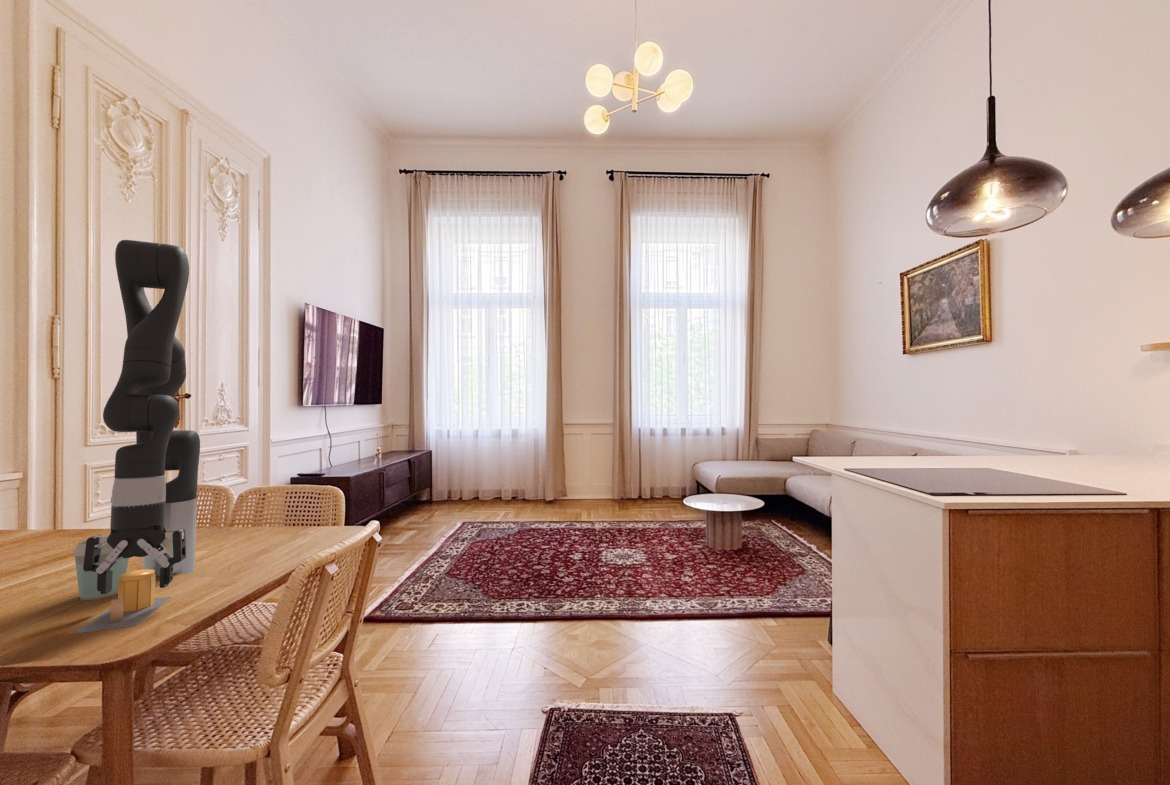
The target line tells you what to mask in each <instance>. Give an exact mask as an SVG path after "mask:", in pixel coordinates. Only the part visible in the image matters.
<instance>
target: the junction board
mask: <svg viewBox="0 0 1170 785" xmlns="http://www.w3.org/2000/svg"><path fill="white" fill-rule="evenodd" d="M170 599H171V596H167V597H157V598H156V597H155V603H154V604H152V605H151V606H149V607H146V608H143V609H139V610H135V611H126V612H124V611H123V608H124V599H118V598H115V599H113V600H111V601H110V608H109V609H107V610H106V611H104V612H103V613H102V614H100V615H99V616H97V617H95V618H94V619H93V620H91V621H90V622H89V623H87V624H86V625H84V626H83V627H81V628H80V629H78V630H77V631H76V632H74V634H81V633H89V632H90V633H91V632H96V631H106V630H113V629H122V628H129V627H136V626H138V625H139V624H140V623H141V622H143V621H144V620H145V619H146V618H148V617H149V616H150V615H151V614H152V613H153V612H155V611H156V610H157V609H159V608H160V606H162V605H163V604H164V603H166V602H167V601H168V600H170Z"/></svg>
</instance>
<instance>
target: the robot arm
mask: <svg viewBox="0 0 1170 785" xmlns="http://www.w3.org/2000/svg"><path fill="white" fill-rule="evenodd" d="M114 260H115V268H116V274H117V280H118V286H119V290H120V295H121V300H122V305H123V310H124V315H125V316H124V317H125V323H126V324H125V325H126V334H127V338H126V340H125V344H124V351H123V358H122V365H121V366H122V368H121V372H120V375H119V377H118V381H117V382H116V385H115V387H114V389H113V391H112V392H111V394H110V396H109V398H108V400H107V401H106V403H105V406H104V408H103V412H102V419H103V422H104V424H105V426H106V427H107V428H108V429H109V430H111V431H113V432H116V433H117V432H118V433H136V434H135V435H136V436H135V437H136V440H135V441H136V443H135V444H128V445H125V446H122V447H119V448H118V449H117V450H116V452H115V456H114V457H115V459H114V460H115V461H114V479H113V480H114V481H113V485H112V489H111V497H110V503H111V507H110V523H109V524H110V533H109V535H102V534H95V535H92V536H90V537H88V538H87V539H86V540H87V541H86V540H85V541H86V549H85V557H84V565H83V570H84V571H93V572H96V573H97V575H98V576H97V590H98V591H101V594H107V593H109V592H111V590H112V575H113V570H111V571H110V569H111V567H112V566H113V565H114V564H115V563H116V562H117V561H118V560H119V559H120V558H121V557H124V558H129V559H131V558H134V557H137V558H142V566H141V567H142V568H141V570H145V569H152V570H155V575H156V577H159V588H160V589H164V588H165V589H166V587H168V586H169V584H170V583H172V581H173V579H174V575H179V574H180V575H181V574H192V573H195V567H196V566H195V565H196V564H195V561H196V539H197V538H196V533H197V532H196V530H197V501H198V500H197V499H198V498H197V497H198V496H197V494H198V476H199V464H200V454H201V453H200V452H201V439H200V436H199V433H198V432H196V431H194V430H186V429H185V430H182V429H181V430H174V428H175V427H176V424H177V421H178V419H179V416H180V405H179V403H178V401H177V400H176V399H175V398H174V396H175V395H176V394H177V393H178V392H179V390H180V389H181V387H182V386H183V384H184V382H185V381H186V378H187V366H186V364H187V363H186V354H185V353H186V352H185V349H184V346H183V345H182V343H181V341H180V340H179V339H178V337H177V336H176V330H177V326H178V324H179V319H180V316H181V313H182V309H183V305H184V300H185V297H186V292H187V290H188V283H189V279H190V278H189V277H190V265H189V259H188V255H187V253H186V251H185V250H184V249H183V247H180V246H179V245H174V244H169V243H168V244H167V243H157V242H150V241H149V242H148V241H141V240H134V239H133V240H130V239H122V240H120V241H119V242H118V243H117V245H116V248H115V252H114ZM145 288H146V289H155V290H156V289H157V290H164V291H163V294H162V296H161V298H160V300H159V301H158V303H157V304H156V305H155V306H154V308H152V306H151V305H150V302H149V300H148V297H147V295H146V292H145ZM166 471H167V472H168V471H179V472H178V474H177V476H176V477H175V478H173V479H172V480H170V481H167V482H166V478H165V477H166V475H165V474H166ZM106 542H107V543H108V544H109V545H110V546H111V547H112V548H113V551H112V552H111V553H110V554H109V555H108V556H107V557H106V558H105V559H104V561H103V562H102V563H99V562H100V554H101V547H103V546H104V545H105V543H106Z"/></svg>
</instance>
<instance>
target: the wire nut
mask: <svg viewBox="0 0 1170 785" xmlns="http://www.w3.org/2000/svg"><path fill="white" fill-rule="evenodd" d="M156 578H157V576H156V575H155V570H152V569H145V570H142V569H139V570H133V571H129V572H126V573H125V574H122V575H120V580H119V584H118V594H117V599H124V608H123V611H124V612H126V611H135V610H139V609H143V608H146V607H149V606H151V605H152V604H154V603H155V598H156Z"/></svg>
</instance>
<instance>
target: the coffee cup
mask: <svg viewBox="0 0 1170 785" xmlns="http://www.w3.org/2000/svg"><path fill="white" fill-rule="evenodd" d="M86 541H87V539H86V540H83V541H79V542H78V543H77V544H76V546H75V548H74V549H73V553H72V556H73V557H74V561H75V569H76V570H75V571H76V578H77V585H78V595H79V599H80V600H82V601H92V600H99V599H105V598H109V597H113V596H116V595H118V584H119V580H120V575H122V574H125V573H127V570H128V565H129V564H128V563H129V559H130V558H124V557H121V558H120V559H119V560H118V561H117V562H116V563H115V564H114V565H113V566H112V567H111V569H110V571H111V570H113V575H112V590H111V592H109V593H107V594H101V591H98V590H97V576H98V575H97V573H96V572H93V571H84V570H83V565H84V557H85V549H86ZM112 551H113V548H112V547H111V546H110V545H109V544H108V543H107V542H106V543H105V545H104V546H103V547H101V554H100V562H99V563H102V562H103V561H104V559H105V558H106V557H107V556H108V555H109V554H110V553H111V552H112Z"/></svg>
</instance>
